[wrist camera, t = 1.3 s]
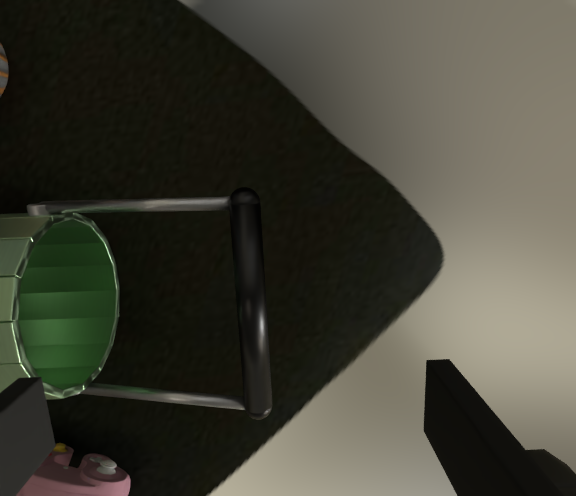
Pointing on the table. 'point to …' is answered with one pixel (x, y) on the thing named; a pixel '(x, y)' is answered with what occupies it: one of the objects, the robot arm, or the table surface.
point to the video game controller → (76, 476)
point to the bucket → (112, 299)
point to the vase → (3, 70)
